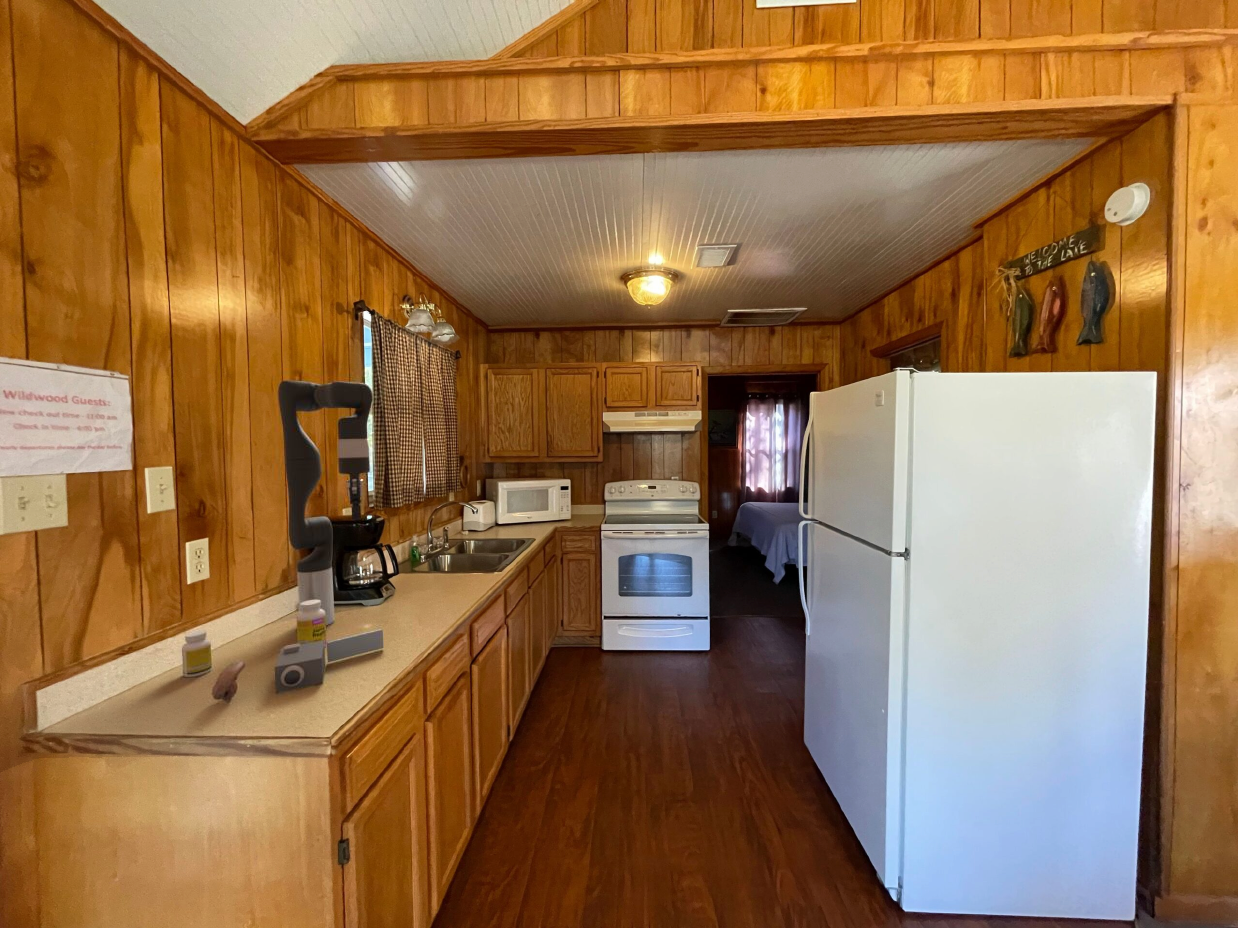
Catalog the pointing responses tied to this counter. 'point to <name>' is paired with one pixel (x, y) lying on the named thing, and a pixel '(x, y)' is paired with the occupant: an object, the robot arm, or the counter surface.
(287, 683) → the camera box
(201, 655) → the supplement bottle
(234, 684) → the mushroom
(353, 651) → the door
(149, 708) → the counter surface
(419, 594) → the counter surface
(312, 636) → the supplement bottle
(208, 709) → the counter surface
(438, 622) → the counter surface
